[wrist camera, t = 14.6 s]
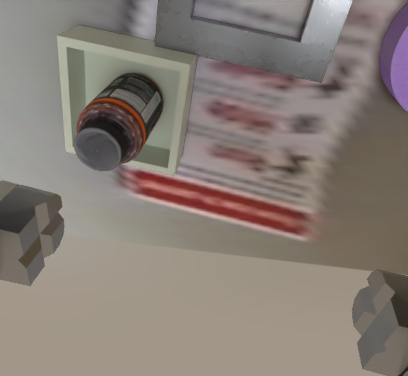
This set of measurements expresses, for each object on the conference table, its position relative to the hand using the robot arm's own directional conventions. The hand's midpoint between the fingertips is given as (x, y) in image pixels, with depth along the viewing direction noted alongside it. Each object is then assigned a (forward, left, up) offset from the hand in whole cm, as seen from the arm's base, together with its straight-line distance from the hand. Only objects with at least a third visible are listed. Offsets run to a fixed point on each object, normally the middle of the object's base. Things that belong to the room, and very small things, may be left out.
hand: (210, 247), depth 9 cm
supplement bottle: (+10, +9, -28) cm, 31 cm away
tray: (+10, +9, -29) cm, 32 cm away
